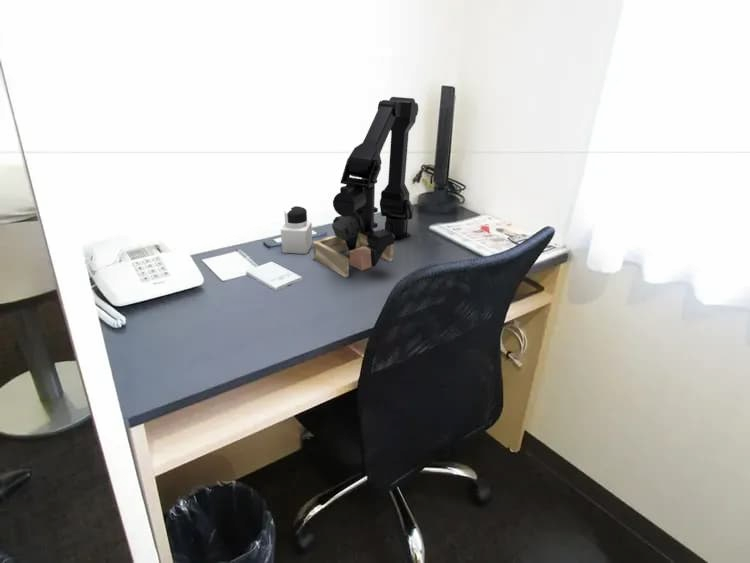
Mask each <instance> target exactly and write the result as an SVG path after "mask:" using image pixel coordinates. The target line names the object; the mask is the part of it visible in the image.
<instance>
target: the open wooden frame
mask: <svg viewBox="0 0 750 563" xmlns="http://www.w3.org/2000/svg"><path fill="white" fill-rule="evenodd" d="M367 237H368V236H366V235H364V234H362V233H358V238H357V243H356V248H360V247H363V246H365V247H367V245H369V244H368V242H367ZM312 248H313V250H312V251H313V259H314V260H315V261H317V262H319V263H320V264H321V265H324V266H325V267H327V268H329V269H331V270H332V271H334V272H335V273H338V274H339V275H340V276H342V277H343V278H347V277H349V274H350V272H349V271H350V270H349V269H350V268H349V266H350V264H349V257H347V256H345V255H343V254H341V253H343V252H346V251H349V250H348V247H347V244H346V241H345V240H342V239H341V238H339V237H336V236H335V235H331V236H328V237H324V238H322V239H318V240H314V241H312ZM367 248H368V247H367ZM380 258H382V259H384V260H385V261H387V262H392V261H394V244H392V245H390V246H387V247H386V249H385V250H384V252H383V253H382V255H381V257H380Z"/></svg>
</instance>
